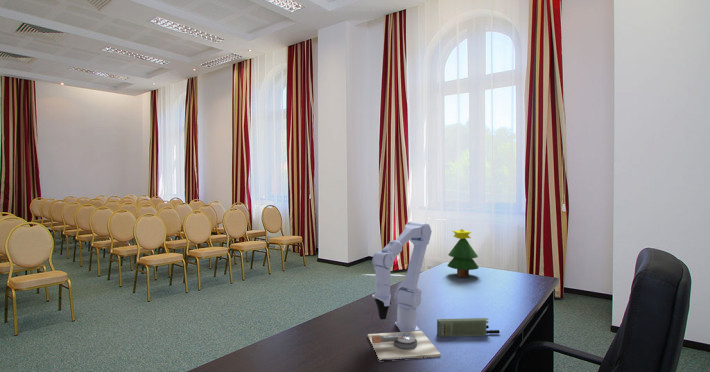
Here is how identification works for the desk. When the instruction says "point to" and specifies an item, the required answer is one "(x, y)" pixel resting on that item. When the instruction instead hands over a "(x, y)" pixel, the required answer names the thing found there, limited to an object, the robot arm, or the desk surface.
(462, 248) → the decorative tree
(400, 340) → the frying pan
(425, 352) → the board
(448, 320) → the handheld radio
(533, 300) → the desk surface
